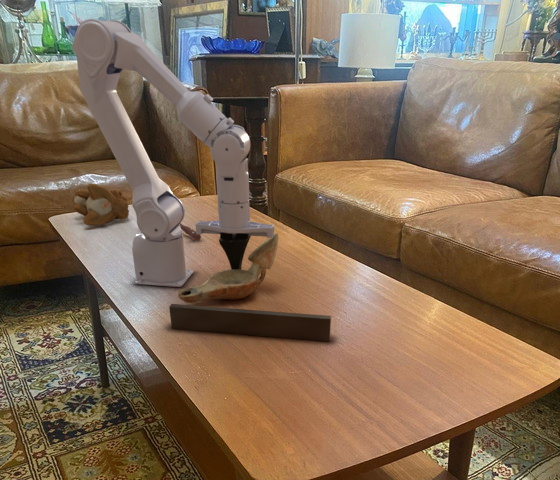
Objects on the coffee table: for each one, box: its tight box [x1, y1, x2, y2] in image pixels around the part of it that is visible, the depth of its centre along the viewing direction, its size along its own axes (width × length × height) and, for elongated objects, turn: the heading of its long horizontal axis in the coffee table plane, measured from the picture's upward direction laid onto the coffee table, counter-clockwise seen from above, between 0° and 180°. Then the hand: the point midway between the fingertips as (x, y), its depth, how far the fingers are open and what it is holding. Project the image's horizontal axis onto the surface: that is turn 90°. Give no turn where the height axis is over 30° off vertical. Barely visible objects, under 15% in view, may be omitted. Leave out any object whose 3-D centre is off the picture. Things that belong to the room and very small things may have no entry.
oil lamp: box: [177, 232, 279, 304], centre depth 99 cm, size 9×21×10 cm, turn 126°
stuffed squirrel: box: [72, 183, 130, 226], centre depth 143 cm, size 10×14×13 cm
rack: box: [168, 303, 332, 343], centre depth 88 cm, size 26×1×4 cm, turn 80°
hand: (236, 271), depth 106 cm, fingers closed
